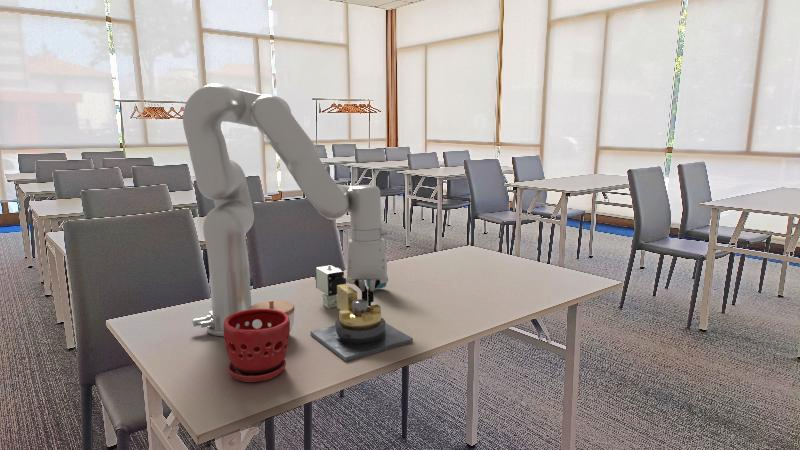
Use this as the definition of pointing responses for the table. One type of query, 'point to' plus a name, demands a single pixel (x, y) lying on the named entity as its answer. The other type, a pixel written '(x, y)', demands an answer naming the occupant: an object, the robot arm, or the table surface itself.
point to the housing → (360, 340)
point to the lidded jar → (275, 305)
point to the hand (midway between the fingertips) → (367, 304)
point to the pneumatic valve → (329, 283)
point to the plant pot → (256, 344)
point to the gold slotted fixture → (356, 310)
